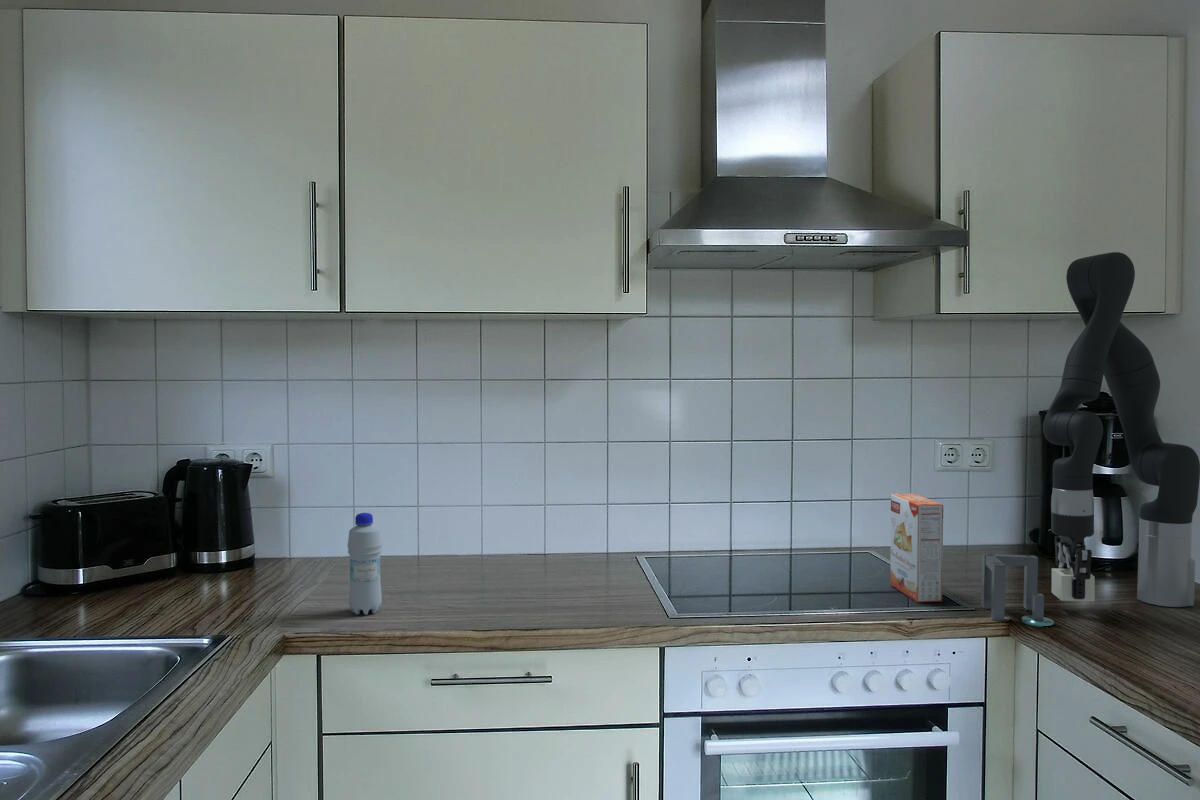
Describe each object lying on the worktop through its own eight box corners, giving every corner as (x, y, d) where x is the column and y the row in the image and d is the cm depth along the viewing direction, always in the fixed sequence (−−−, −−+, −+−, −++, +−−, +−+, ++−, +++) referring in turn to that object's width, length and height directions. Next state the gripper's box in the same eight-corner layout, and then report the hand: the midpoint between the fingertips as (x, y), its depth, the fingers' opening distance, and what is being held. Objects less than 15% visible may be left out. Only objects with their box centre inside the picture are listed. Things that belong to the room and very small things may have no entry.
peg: (1048, 619, 170) (1049, 591, 170) (1057, 627, 165) (1058, 599, 164) (1018, 617, 171) (1019, 590, 171) (1026, 626, 166) (1027, 597, 166)
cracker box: (888, 586, 195) (889, 493, 194) (914, 585, 196) (916, 492, 195) (915, 603, 181) (916, 503, 180) (943, 602, 182) (945, 503, 181)
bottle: (348, 618, 171) (346, 516, 170) (348, 608, 177) (346, 510, 176) (383, 615, 173) (382, 514, 172) (382, 606, 179) (381, 509, 178)
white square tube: (1083, 593, 177) (1083, 568, 177) (1094, 601, 171) (1094, 576, 171) (1051, 592, 178) (1051, 568, 178) (1061, 600, 172) (1061, 575, 172)
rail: (1033, 608, 177) (1035, 555, 177) (1048, 623, 168) (1050, 567, 167) (981, 606, 179) (982, 553, 179) (993, 620, 170) (994, 564, 169)
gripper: (1107, 517, 166) (1106, 604, 167) (1079, 504, 180) (1079, 585, 181) (1064, 517, 167) (1064, 603, 168) (1040, 504, 182) (1040, 584, 182)
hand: (1072, 593), depth 175 cm, fingers closed on white square tube, 6 cm apart
